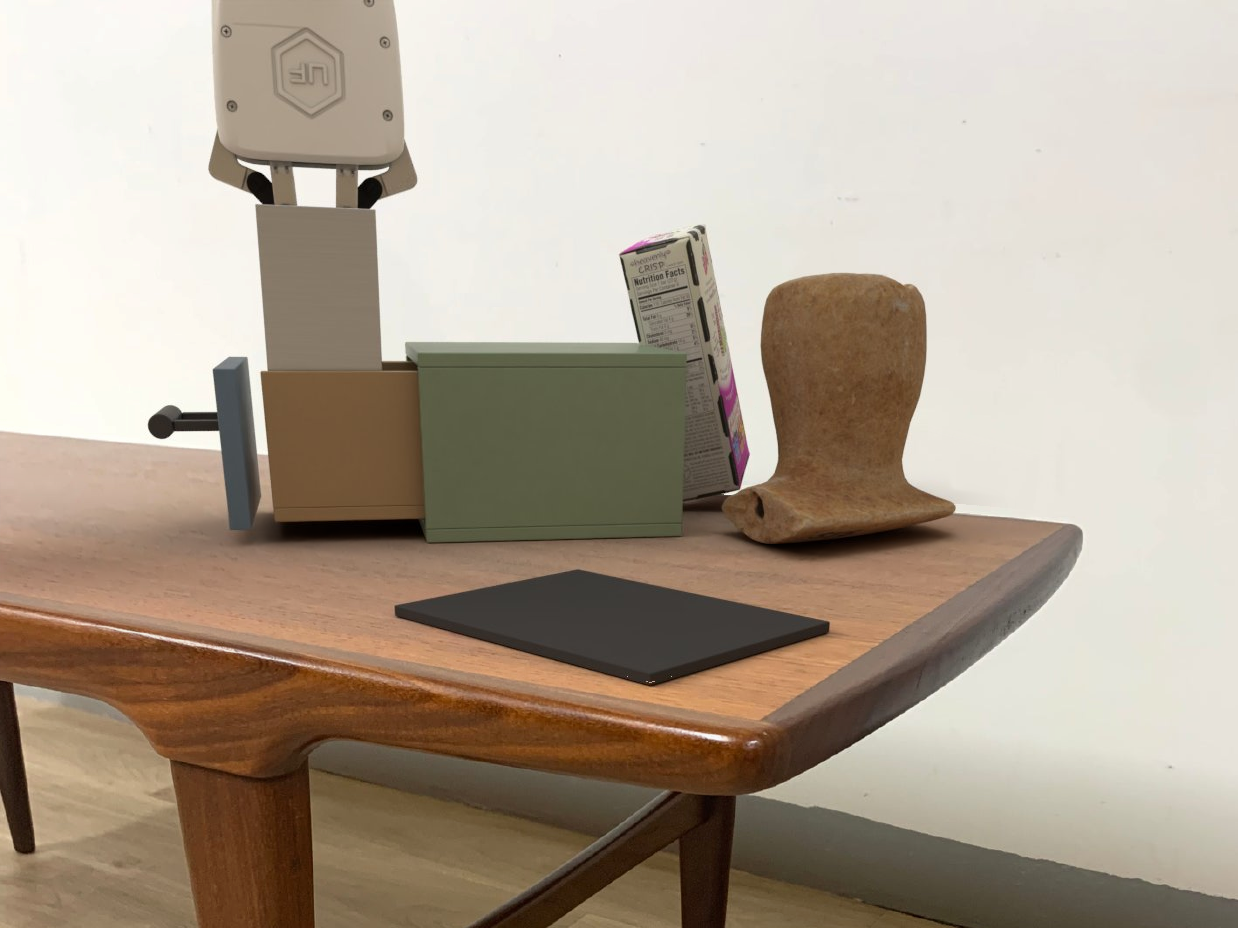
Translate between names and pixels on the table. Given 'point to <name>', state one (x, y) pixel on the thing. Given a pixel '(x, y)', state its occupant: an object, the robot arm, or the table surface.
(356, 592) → the table surface
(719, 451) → the candy bar box
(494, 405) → the cabinet
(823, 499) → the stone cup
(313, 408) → the drawer
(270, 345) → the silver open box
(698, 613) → the desk pad
